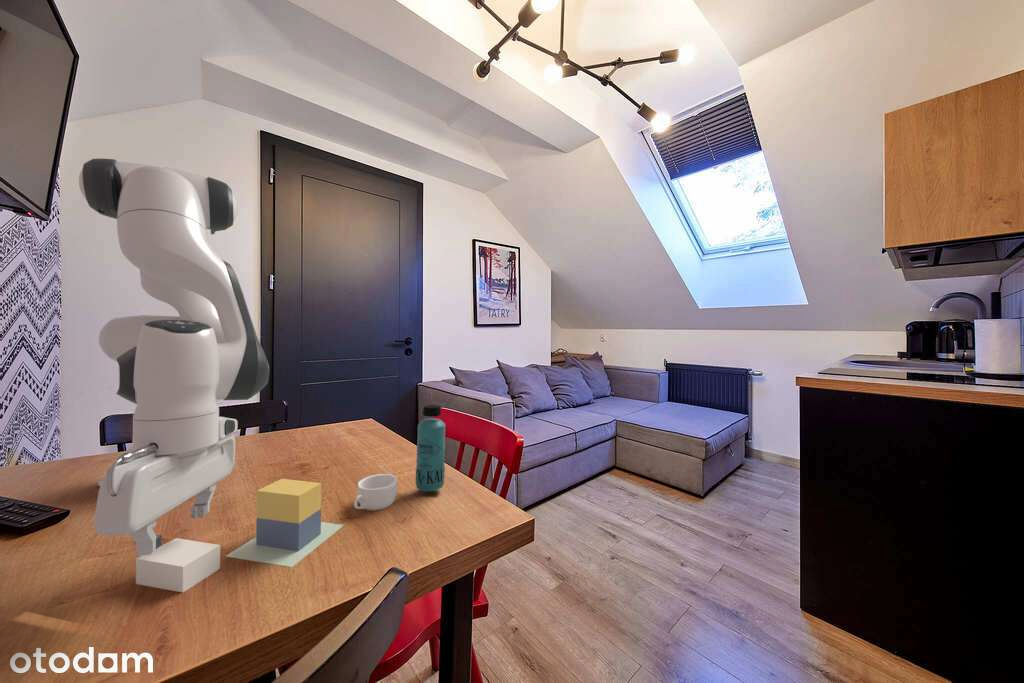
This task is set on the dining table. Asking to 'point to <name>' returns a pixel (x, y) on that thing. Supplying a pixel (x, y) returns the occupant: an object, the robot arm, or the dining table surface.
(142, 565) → the cream brick
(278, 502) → the mustard brick
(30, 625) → the dining table surface
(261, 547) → the build plate
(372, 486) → the teacup
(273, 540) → the navy brick
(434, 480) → the beverage bottle
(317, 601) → the dining table surface
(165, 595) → the dining table surface
